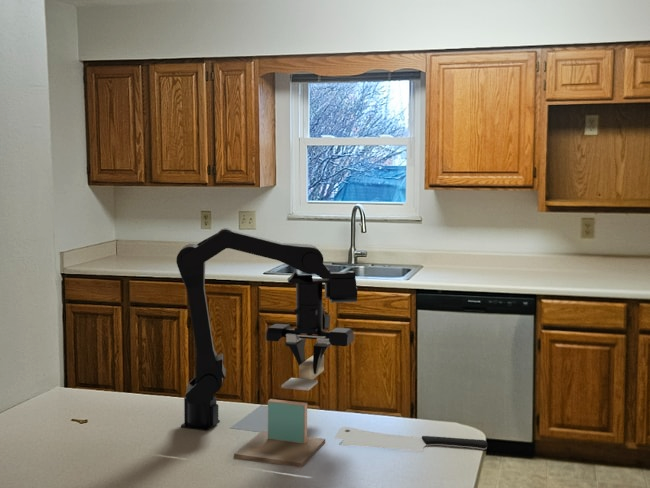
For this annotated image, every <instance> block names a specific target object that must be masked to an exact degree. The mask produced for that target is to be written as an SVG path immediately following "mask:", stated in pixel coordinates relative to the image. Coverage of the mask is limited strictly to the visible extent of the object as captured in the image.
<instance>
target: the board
mask: <svg viewBox="0 0 650 488" xmlns="http://www.w3.org/2000/svg"><path fill="white" fill-rule="evenodd" d="M325 443H326V438H321V437H314V436H307V442H306V443H305V444H302V443H294V442H287V441H279V440H272V439H268V431H261V432H258V434H257V435H255V436H253V438H251V439H250V440H249V441H248V442H246V443H245V444H244V445H243V446H241V447H240V448H239V449H238V450H237V451H235V452H234V453H233V458H234V459H235V458H236V459H242V460H243V459H244V460H249V461H256V462H257V461H258V462H264V463H271V464H278V465H284V466H292V467H300V468H302V467H303V466H304V465H305V464H307V462H308V461H309V460H310V459H311V458H312V457H313V456H314V455H315V454H316V452H317V451H319V450H320V448H321V447H322V446H324V444H325Z"/></svg>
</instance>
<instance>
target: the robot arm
mask: <svg viewBox="0 0 650 488" xmlns="http://www.w3.org/2000/svg"><path fill="white" fill-rule="evenodd" d="M226 249H230V250H234V251H238V252H241V253H246V254H251V255H254V256H259V257H261V258H262V257H263V258H266V259H269V260H275V261H278V262H281V263H283V264H284V265H287V266H288V267H292V268H293V269H296V270H297V271H300V272H302V273H304V274H298V273H297V271H295V270H294V271H293V273H292V274H291V275H290V276H289V277H287V283H288V284H295V290H296V291H295V293H296V295H295V299H296V300H295V303H296V305H295V307H296V308H294V314H295V315H296V316H295V318H296V321H295V322H296V323H295V324H296V326H295V327H294V328H292V327H291V324H289V323H288V324H284V323H273V325H270V326H269V327H267V328H266V330H265V333H264V334H265V341H267V342H279V341H280V340H281V339H283V338H286V340H285V341H286V342H284V345H285V347H289V349H290V351H291V353H292V354H293V356H294V358H295V360H296V362H297V365H298V366H299V365H300V364H302V363H303V362H304V361H306V353H305V352H306V351H305V346H306V339H307V340H316V342H317V343H315V344H314V345H313V348H312V352H313V354H312V356H313V370H314V374H316V373H317V372H318V369H319V366H320V363H321V360H322V357H323V355H324V354H325V353H326V350H327V349H328V348H329V347H331V346H332V347H333V346H335V347H348V346H349V345H350V344H351V343H353V342H354V340H355V339H354V338H355V337H354V335H355V333H354V331H353V329H352V328H348V327H335V328H334V329H331V331H328V330H330V324H331V315H329V314H328V313H325V307H324V306H325V305H323V284H324V296H325V299H328V300H329V302H330V303H332V304H333V303H339V304H340V303H357V301H358V287H357V280H356V279H357V278H356V272H355V271H354V270H348V271H331V270H330V269H329V267H328V266H327V267H326V265H325V264H324V255H323V254H322V251H320V249H319V248H317V247H316V245H315V246H314V245H312V244H308V243H307V244H306V243H305V244H304V243H288V242H287V243H286V242H280V241H279V242H278V241H276V240H270V239H267V238H262V237H259V236H255V235H250V234H247V233H243V232H240V231H239V232H238V231H235V230H232V229H230V228H227V227H226V228H225V227H224V228H221V229H220V230H219V231H218V232H216V233H215V234H213V235H211V236H209V237H207V238H205V239H203V240H202V241H200V242H199V243H197V244H196V243H188V244H185V246H183V247H182V248H181V249H180V250H179V252H178V253H177V255H176V261H175V262H176V266H177V268H178V272H179V275H180V278H181V280H182V282H183V284H184V286H185V289H186V291H187V293H186V294H187V299H188V305H189V306H188V307H189V313H190V317H191V318H190V319H191V323H192V324H191V325H192V332H193V338H194V344H195V345H194V346H195V351H196V360H195V376H194V377H193V378H192V379H191V380H190V381H189V382H188V384H187V387H186V392H185V397H184V399H183V404H184V405H183V407H184V409H183V411H184V413H183V414H184V415H183V416H184V422H183V423H182V424H181V425H180V428H183V429H189V430H196V431H197V430H198V431H205V432H207V431H209V430H210V429H212V428H213V427H215V426H216V425H218V424H220V423H221V420H220V419H219V404H217V396H214V395H215V394H216V393H218V392H219V391H220V390H221V389H222V386H223V381H224V380H225V379H226V373H227V369H226V368H225V366H224V353H219V354H218V353H217V352H216V349H215V346H214V340H213V334H212V327H211V320H210V314H209V308H208V301H207V294H206V287H205V282H206V281H205V279H206V262H207V261H208V260H210V259H212V258H214V257H215V256H217V255H218V254H220V253H221V252H223V251H224V250H226ZM330 271H331V272H330ZM312 274H315V275H316V276H317V277H320V278H313V275H312ZM325 330H326V331H325ZM223 379H224V380H223Z"/></svg>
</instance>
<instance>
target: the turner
mask: <svg viewBox="0 0 650 488" xmlns="http://www.w3.org/2000/svg"><path fill="white" fill-rule="evenodd" d="M298 367H299V368H298V369H299V373H298V375H299V376H298V377H290V378H289V379H288V380H286V381H285V382H284V383H282V384H281V389H287V390H300V391H310V390H311V389H312V388H314V387H315V386H316V385H317V384H318V383H319V382H318V379H315V378H317V377H318V376H319V375H321V374H322V373H323V372H324V371H325V355H324V354H323V357H322V360H321V363H320V366H319V369H318V372H317V373H316V374H314V370H313V355H312V356H310V357H309V358H307V359H305V361H304V362H303V363H302V364H300V365H298Z"/></svg>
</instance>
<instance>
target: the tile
mask: <svg viewBox="0 0 650 488" xmlns="http://www.w3.org/2000/svg"><path fill="white" fill-rule="evenodd" d="M267 406H268V439H272V440H279V441H287V442H294V443H302V444H305V443H306V442H307V437H308V402H301V401H293V400H292V401H291V400H283V399H275V398H270V399H268V400H267Z"/></svg>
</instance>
